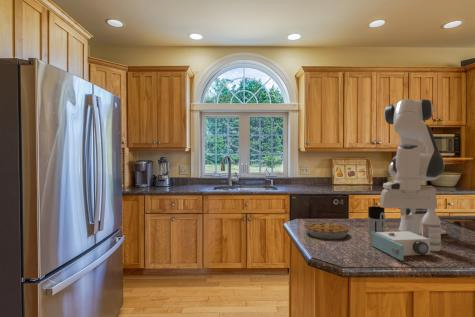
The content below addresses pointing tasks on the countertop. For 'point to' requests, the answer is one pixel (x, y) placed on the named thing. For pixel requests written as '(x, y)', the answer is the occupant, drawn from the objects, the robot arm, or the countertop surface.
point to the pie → (327, 230)
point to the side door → (388, 246)
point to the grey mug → (375, 220)
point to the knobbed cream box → (409, 242)
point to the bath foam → (432, 229)
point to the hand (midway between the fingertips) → (407, 219)
